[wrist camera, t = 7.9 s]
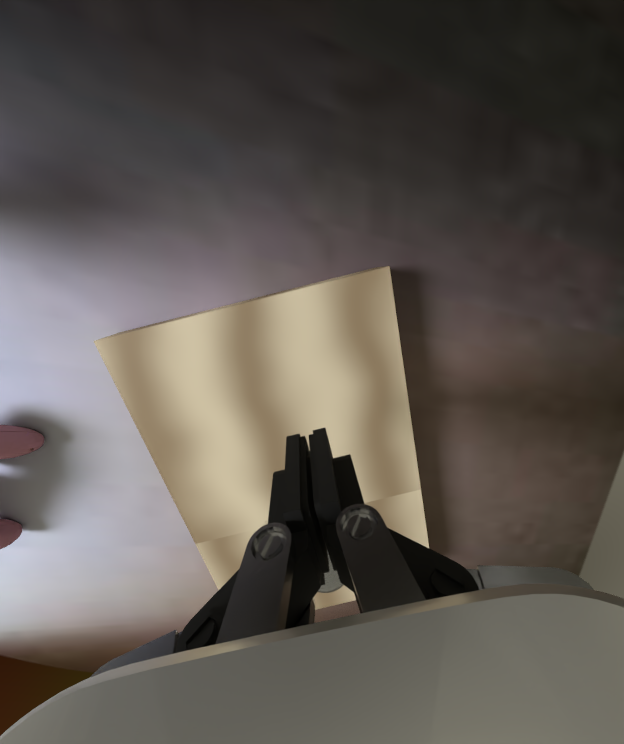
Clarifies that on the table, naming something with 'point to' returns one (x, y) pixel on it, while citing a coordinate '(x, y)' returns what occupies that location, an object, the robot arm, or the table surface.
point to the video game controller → (10, 445)
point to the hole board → (272, 406)
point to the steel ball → (330, 580)
